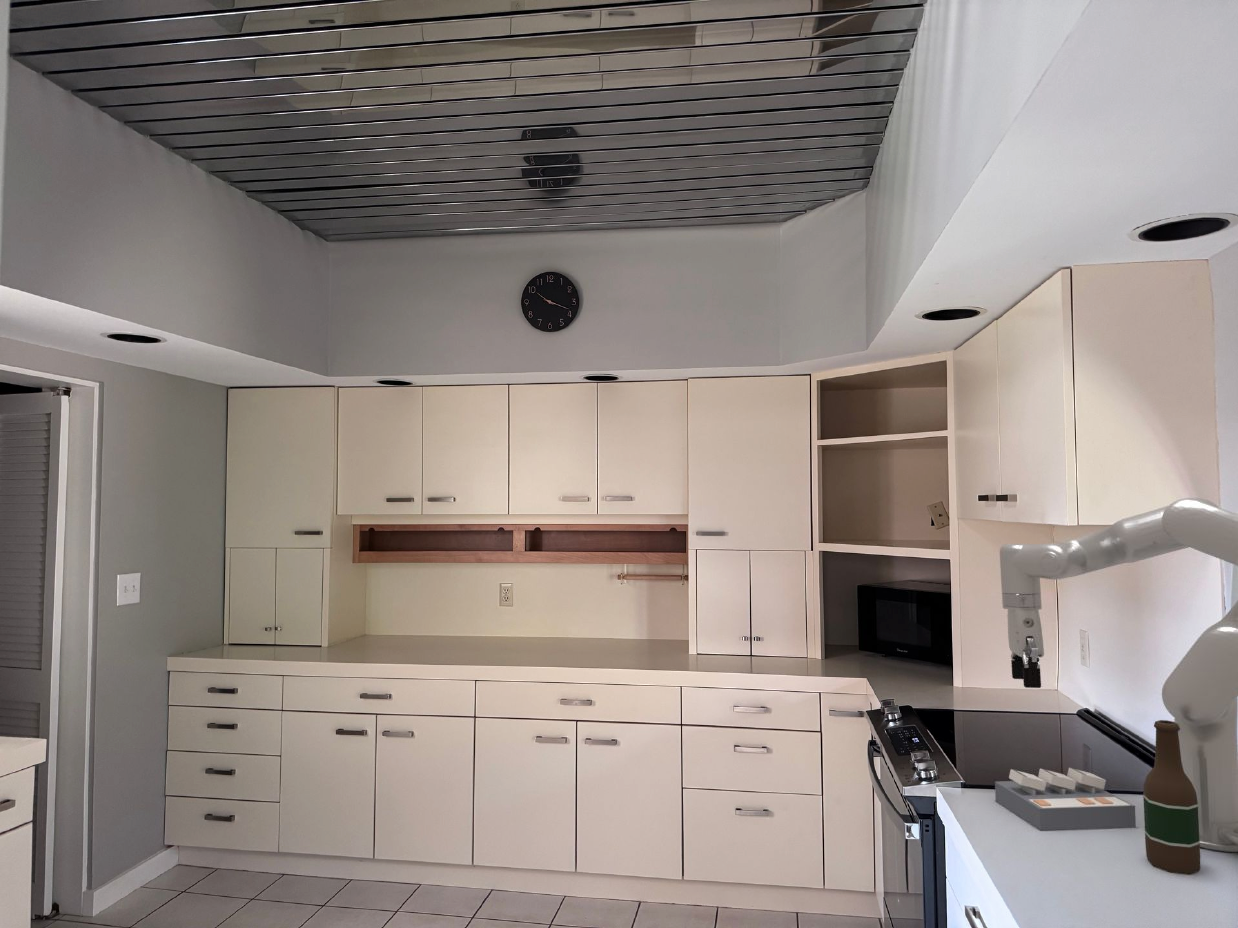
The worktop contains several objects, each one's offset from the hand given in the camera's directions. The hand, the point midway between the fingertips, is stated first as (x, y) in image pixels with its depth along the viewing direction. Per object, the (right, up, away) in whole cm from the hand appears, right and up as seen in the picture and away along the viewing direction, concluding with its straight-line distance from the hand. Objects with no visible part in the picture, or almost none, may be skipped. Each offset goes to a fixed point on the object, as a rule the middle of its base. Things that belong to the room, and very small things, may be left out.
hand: (1026, 682), depth 174 cm
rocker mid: (+2, -17, -8) cm, 19 cm away
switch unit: (+2, -23, -10) cm, 26 cm away
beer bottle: (+8, -22, -34) cm, 42 cm away
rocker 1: (-4, -17, -9) cm, 20 cm away
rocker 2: (+8, -17, -8) cm, 21 cm away
